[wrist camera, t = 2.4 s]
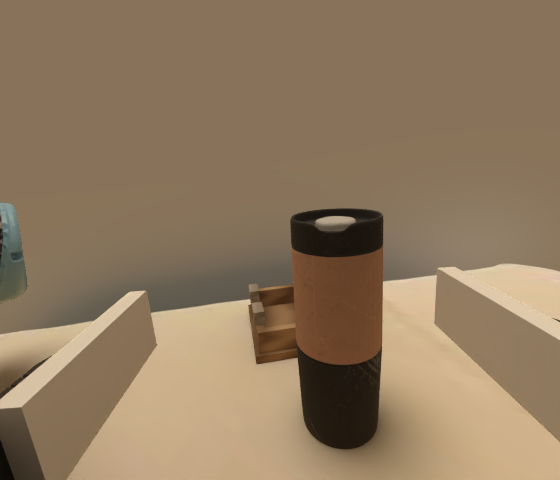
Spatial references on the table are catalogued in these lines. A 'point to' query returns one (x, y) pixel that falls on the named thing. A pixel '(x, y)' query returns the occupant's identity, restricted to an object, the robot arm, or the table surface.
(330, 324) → the travel mug
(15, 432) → the robot arm
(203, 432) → the table surface
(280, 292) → the tray
